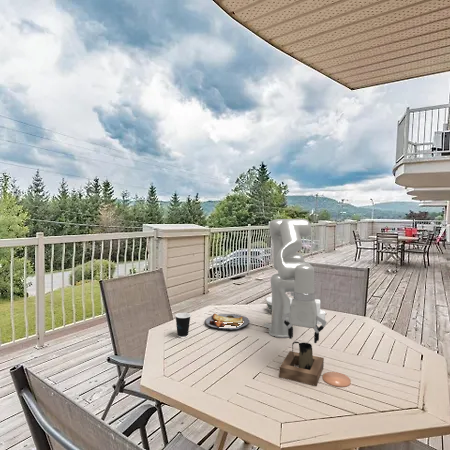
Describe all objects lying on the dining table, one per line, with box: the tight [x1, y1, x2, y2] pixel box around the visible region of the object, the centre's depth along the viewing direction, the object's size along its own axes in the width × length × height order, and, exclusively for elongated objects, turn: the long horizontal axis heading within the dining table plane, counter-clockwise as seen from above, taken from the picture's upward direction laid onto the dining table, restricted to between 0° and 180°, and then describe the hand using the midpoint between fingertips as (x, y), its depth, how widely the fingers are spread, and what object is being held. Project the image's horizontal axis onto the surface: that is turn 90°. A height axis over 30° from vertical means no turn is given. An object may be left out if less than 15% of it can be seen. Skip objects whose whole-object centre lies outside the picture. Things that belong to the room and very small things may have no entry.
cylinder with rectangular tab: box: [314, 298, 326, 325], centre depth 186 cm, size 9×9×12 cm
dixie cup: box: [174, 312, 192, 338], centre depth 162 cm, size 8×8×11 cm
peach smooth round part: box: [322, 371, 351, 388], centre depth 121 cm, size 10×10×1 cm
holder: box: [278, 350, 325, 387], centre depth 127 cm, size 14×16×4 cm
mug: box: [291, 341, 314, 370], centre depth 127 cm, size 8×6×12 cm
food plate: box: [204, 313, 251, 330], centre depth 181 cm, size 25×23×4 cm
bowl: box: [265, 295, 294, 312], centre depth 203 cm, size 19×19×8 cm
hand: (303, 339), depth 126 cm, fingers open, 9 cm apart
